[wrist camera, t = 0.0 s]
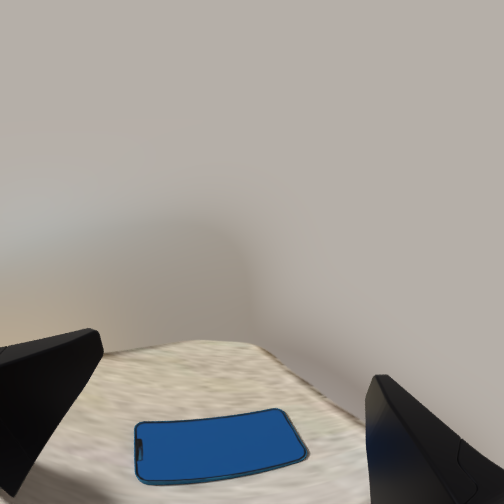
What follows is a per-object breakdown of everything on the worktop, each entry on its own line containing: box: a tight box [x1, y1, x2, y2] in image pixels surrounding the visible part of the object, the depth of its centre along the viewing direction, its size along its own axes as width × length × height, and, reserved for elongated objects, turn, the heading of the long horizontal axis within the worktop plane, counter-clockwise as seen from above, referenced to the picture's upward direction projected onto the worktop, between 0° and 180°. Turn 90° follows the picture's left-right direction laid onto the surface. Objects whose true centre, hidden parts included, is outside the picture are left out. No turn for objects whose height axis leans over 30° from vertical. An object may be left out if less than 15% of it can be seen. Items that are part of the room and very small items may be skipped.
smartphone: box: [134, 408, 307, 485], centre depth 19 cm, size 7×1×15 cm
